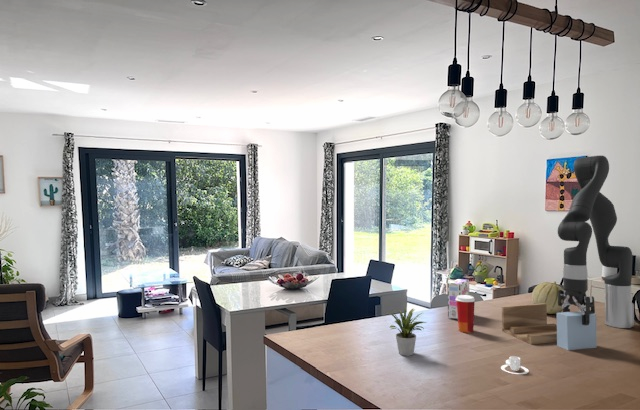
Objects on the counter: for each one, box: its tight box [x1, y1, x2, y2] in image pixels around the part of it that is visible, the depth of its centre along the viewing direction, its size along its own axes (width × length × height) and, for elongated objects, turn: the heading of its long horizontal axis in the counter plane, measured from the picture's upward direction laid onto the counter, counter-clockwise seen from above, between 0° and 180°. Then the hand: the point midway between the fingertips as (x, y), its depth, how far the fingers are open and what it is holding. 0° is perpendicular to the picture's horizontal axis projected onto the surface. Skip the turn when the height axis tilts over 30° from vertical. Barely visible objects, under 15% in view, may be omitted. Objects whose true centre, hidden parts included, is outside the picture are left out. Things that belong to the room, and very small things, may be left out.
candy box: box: [447, 278, 470, 321], centre depth 195 cm, size 14×6×16 cm, turn 143°
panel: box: [556, 310, 598, 351], centre depth 152 cm, size 12×5×12 cm, turn 101°
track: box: [501, 303, 557, 345], centre depth 165 cm, size 17×20×10 cm
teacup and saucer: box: [500, 355, 530, 375], centre depth 132 cm, size 9×8×4 cm
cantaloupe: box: [531, 281, 565, 315], centre depth 198 cm, size 15×15×15 cm
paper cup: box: [455, 294, 476, 334], centre depth 173 cm, size 8×8×14 cm
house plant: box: [388, 305, 428, 356], centre depth 147 cm, size 14×14×16 cm
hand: (575, 322), depth 152 cm, fingers open, 8 cm apart
